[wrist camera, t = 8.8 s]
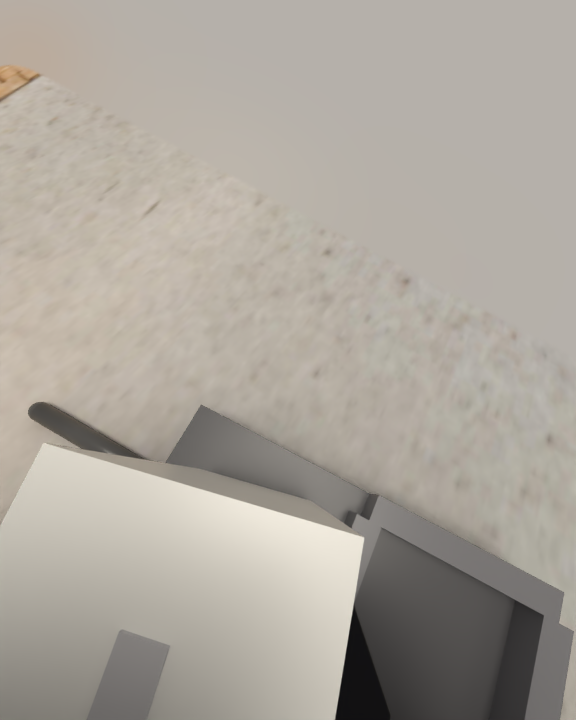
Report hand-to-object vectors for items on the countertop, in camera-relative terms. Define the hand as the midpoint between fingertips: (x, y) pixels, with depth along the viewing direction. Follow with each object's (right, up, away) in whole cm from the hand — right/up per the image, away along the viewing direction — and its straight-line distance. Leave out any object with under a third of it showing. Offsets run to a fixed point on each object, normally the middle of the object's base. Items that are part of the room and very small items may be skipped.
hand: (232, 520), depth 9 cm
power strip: (-1, -4, +7) cm, 8 cm away
